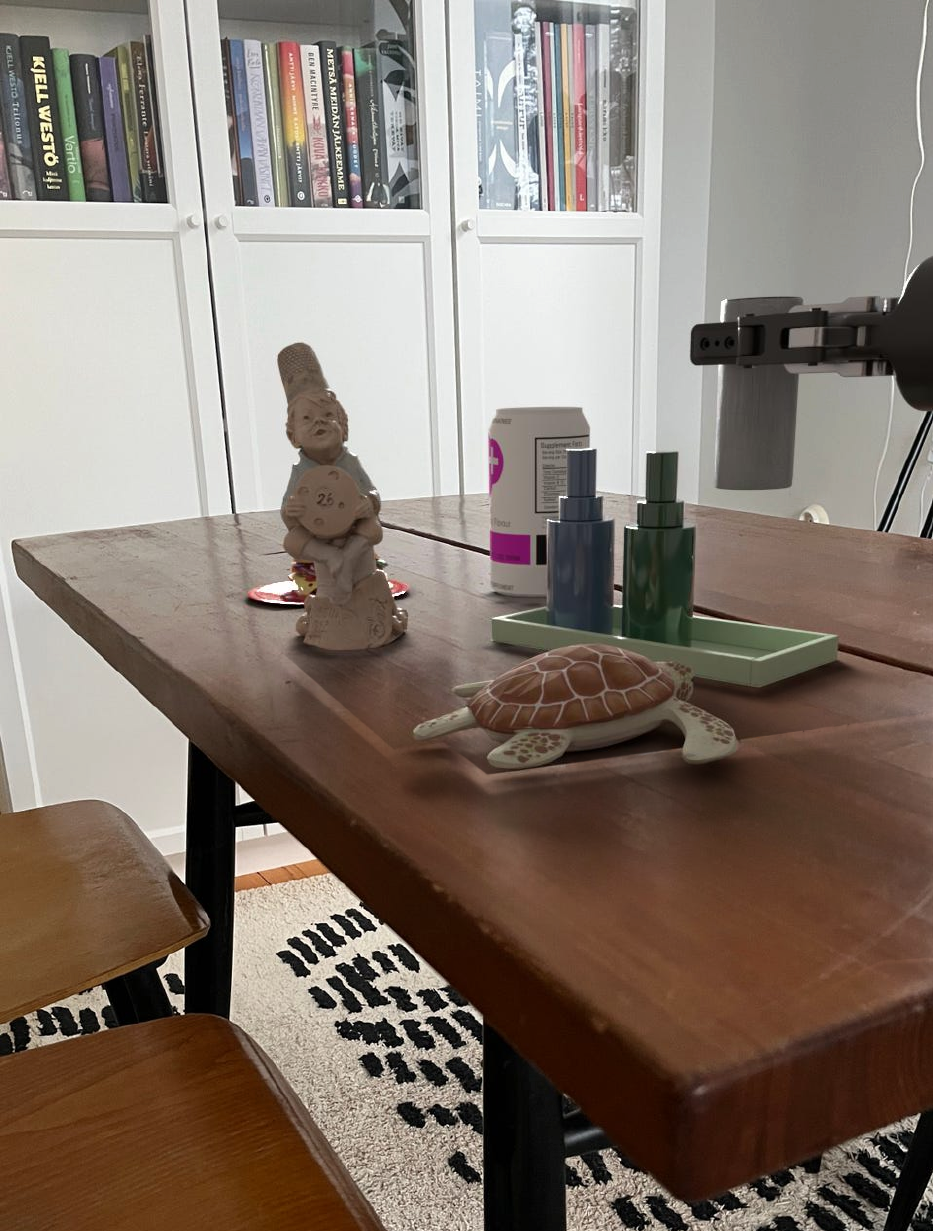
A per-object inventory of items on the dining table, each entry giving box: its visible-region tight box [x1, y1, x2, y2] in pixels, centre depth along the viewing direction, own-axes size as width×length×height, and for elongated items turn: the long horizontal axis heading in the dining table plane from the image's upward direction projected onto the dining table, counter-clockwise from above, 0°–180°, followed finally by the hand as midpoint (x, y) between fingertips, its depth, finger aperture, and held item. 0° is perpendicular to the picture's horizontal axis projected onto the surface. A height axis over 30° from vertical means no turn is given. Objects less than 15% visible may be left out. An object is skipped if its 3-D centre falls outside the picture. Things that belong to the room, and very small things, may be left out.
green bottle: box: [621, 449, 698, 648], centre depth 79 cm, size 5×5×12 cm
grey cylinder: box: [713, 295, 804, 491], centre depth 71 cm, size 4×4×10 cm
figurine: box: [276, 341, 409, 651], centre depth 83 cm, size 9×8×20 cm
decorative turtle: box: [412, 644, 740, 770], centre depth 62 cm, size 18×17×5 cm
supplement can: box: [487, 406, 591, 598], centre depth 101 cm, size 8×8×15 cm
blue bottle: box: [546, 447, 616, 635], centre depth 83 cm, size 5×5×12 cm
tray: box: [491, 604, 840, 688], centre depth 81 cm, size 21×9×2 cm, turn 46°
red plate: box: [247, 549, 410, 606], centre depth 106 cm, size 14×14×6 cm
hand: (720, 344), depth 72 cm, fingers closed on grey cylinder, 4 cm apart
